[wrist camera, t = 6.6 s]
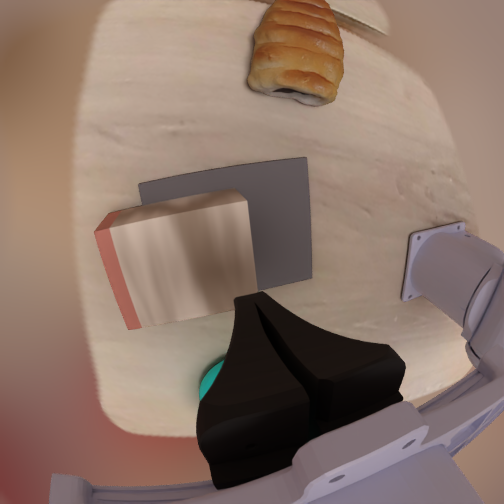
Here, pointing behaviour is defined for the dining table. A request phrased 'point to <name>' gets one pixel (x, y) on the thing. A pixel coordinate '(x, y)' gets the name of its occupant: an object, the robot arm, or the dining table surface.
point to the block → (178, 257)
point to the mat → (258, 212)
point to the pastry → (298, 52)
